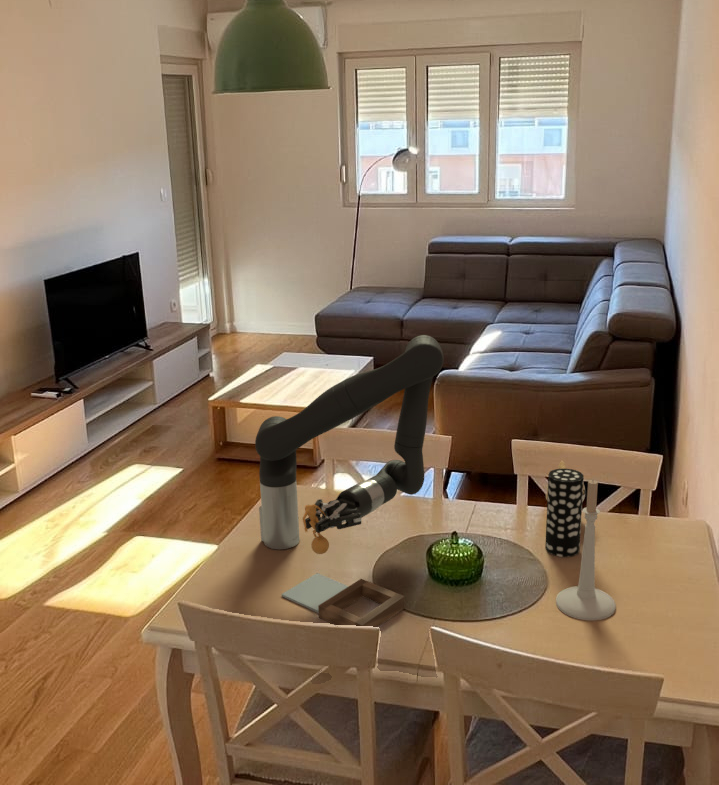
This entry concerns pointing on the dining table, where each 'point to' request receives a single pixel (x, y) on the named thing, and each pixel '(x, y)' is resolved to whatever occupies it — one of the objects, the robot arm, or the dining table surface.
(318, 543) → the figurine
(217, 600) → the dining table surface
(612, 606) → the candlestick
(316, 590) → the ceramic tile
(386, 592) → the pocket frame
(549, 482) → the white-spotted black cylinder
